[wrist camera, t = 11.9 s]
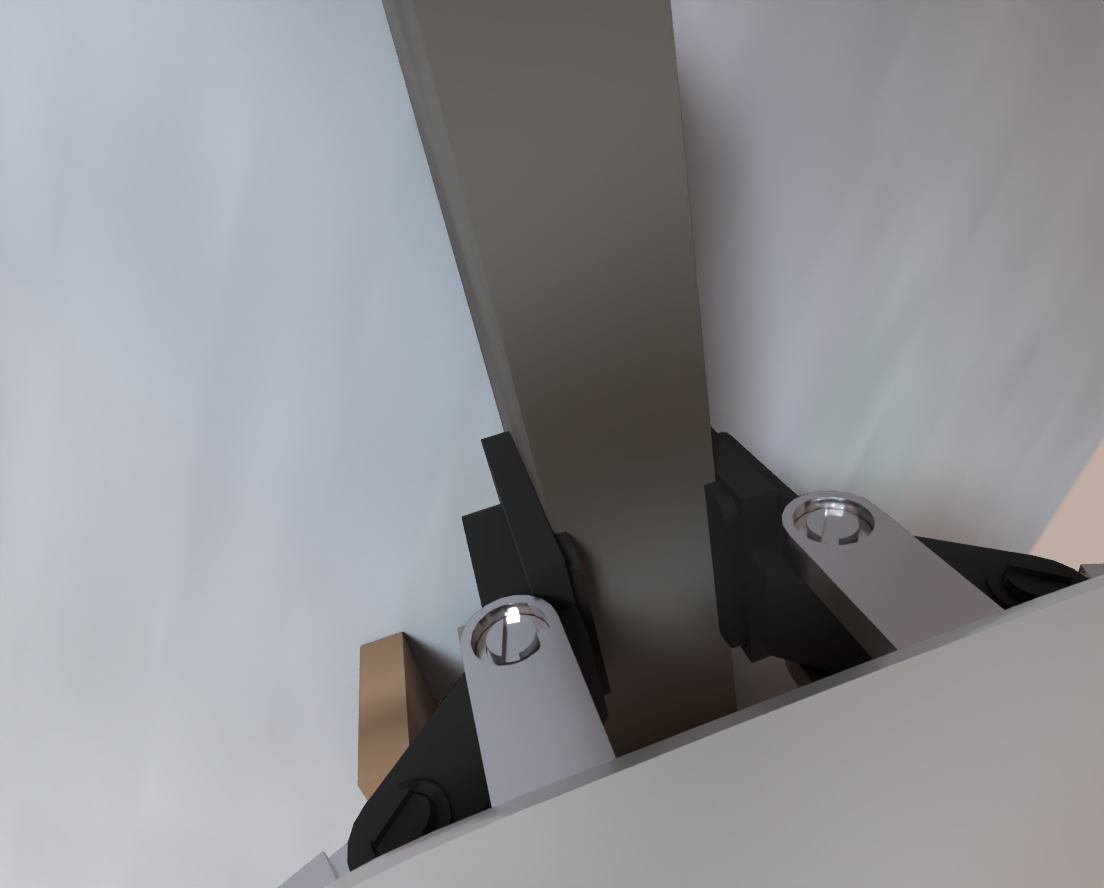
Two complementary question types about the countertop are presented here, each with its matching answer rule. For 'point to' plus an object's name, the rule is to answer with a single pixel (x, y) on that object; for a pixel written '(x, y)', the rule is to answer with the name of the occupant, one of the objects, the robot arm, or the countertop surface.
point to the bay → (388, 708)
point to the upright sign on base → (589, 317)
